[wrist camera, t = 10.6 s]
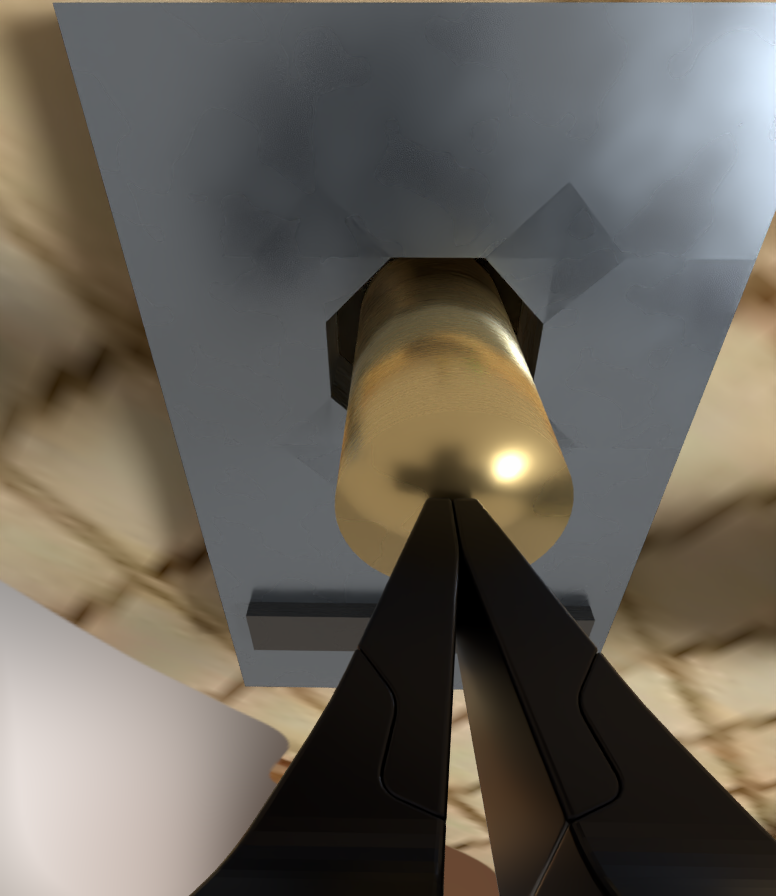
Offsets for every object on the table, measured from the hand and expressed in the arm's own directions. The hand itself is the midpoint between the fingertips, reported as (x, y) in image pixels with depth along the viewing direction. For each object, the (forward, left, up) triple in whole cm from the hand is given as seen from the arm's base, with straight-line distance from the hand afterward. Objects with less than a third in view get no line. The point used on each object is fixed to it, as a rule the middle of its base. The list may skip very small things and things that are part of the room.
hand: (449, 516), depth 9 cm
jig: (0, +4, -8) cm, 9 cm away
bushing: (0, 0, -8) cm, 8 cm away
